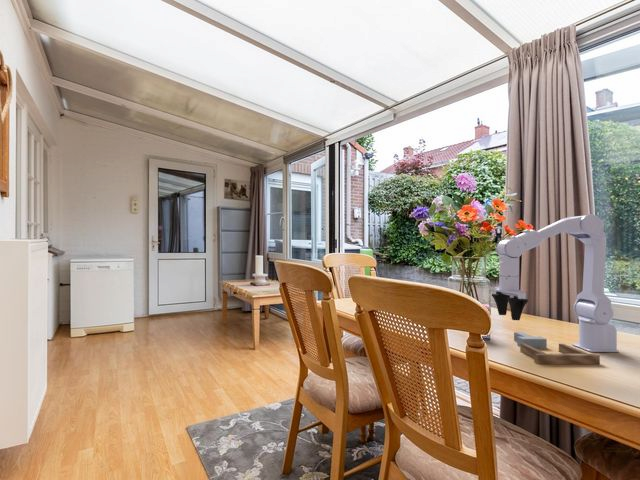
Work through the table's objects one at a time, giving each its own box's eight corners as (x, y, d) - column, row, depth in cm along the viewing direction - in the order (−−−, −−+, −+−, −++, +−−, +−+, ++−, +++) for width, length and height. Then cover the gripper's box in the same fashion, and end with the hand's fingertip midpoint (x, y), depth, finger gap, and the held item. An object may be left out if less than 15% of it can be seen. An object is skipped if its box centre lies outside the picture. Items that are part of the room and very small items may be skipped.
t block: (529, 340, 122) (529, 332, 122) (546, 348, 113) (546, 339, 113) (507, 340, 122) (507, 331, 122) (522, 348, 113) (522, 339, 113)
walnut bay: (569, 351, 109) (569, 343, 109) (599, 364, 98) (599, 355, 98) (514, 351, 109) (514, 343, 109) (537, 364, 97) (537, 355, 98)
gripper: (485, 273, 120) (485, 312, 120) (509, 278, 105) (509, 322, 105) (505, 274, 120) (505, 312, 120) (532, 278, 105) (532, 322, 105)
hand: (508, 317), depth 112 cm, fingers open, 7 cm apart
